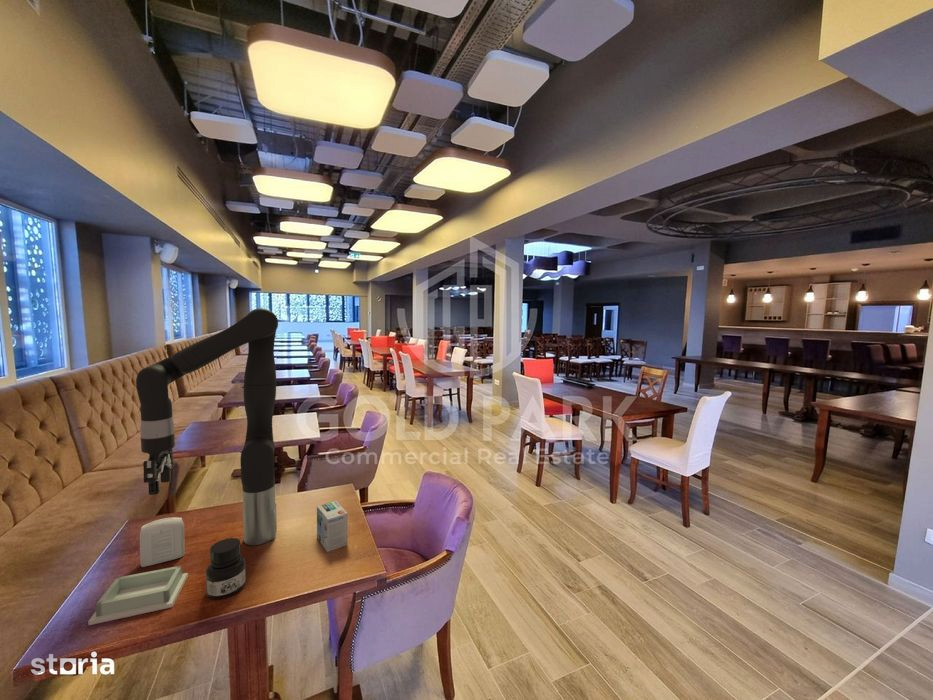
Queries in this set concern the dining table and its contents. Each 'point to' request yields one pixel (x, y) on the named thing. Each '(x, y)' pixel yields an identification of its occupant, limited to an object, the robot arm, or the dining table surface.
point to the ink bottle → (225, 569)
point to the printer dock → (139, 594)
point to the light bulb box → (332, 526)
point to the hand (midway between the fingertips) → (160, 487)
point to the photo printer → (161, 541)
